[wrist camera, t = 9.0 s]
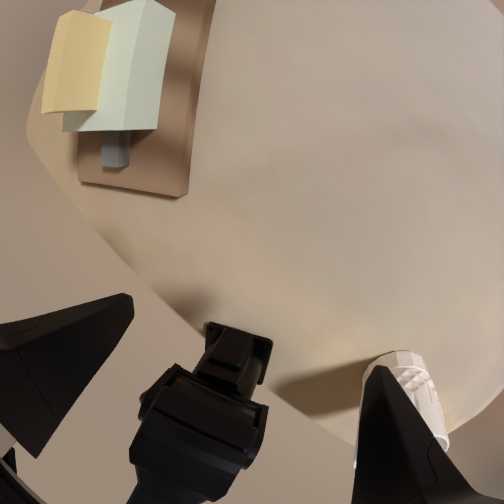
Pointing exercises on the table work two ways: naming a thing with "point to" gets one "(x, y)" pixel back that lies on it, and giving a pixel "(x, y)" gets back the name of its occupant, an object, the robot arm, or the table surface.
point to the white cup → (412, 391)
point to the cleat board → (169, 117)
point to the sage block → (109, 67)
